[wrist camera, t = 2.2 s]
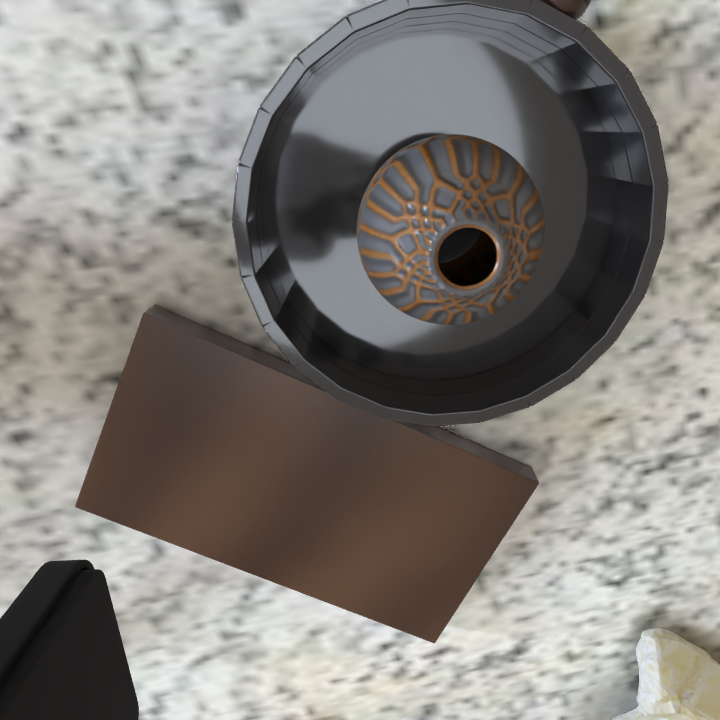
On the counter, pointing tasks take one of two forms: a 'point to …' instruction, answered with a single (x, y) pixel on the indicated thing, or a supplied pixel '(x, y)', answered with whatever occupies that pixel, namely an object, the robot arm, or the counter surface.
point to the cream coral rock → (674, 680)
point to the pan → (440, 117)
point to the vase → (450, 229)
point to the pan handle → (569, 6)
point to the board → (297, 479)
